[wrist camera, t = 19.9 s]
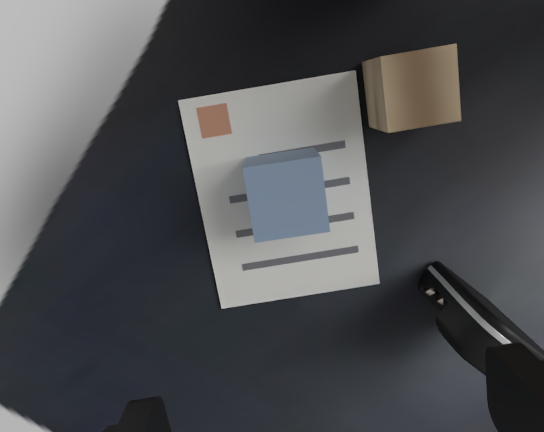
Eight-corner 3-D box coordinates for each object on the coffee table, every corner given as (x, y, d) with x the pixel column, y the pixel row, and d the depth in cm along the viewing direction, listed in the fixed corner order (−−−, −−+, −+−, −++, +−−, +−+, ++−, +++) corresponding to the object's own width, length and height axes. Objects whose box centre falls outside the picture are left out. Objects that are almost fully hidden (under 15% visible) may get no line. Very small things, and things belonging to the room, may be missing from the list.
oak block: (425, 51, 36) (456, 43, 31) (430, 116, 38) (461, 120, 32) (361, 62, 36) (380, 56, 31) (368, 126, 38) (387, 133, 32)
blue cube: (313, 147, 38) (321, 156, 32) (321, 212, 39) (330, 231, 34) (245, 157, 38) (242, 168, 33) (255, 222, 39) (254, 242, 34)
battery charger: (403, 288, 41) (454, 360, 30) (433, 256, 41) (496, 317, 29) (461, 332, 42) (531, 416, 31) (490, 301, 42) (572, 376, 31)
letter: (355, 70, 36) (355, 70, 36) (379, 282, 41) (379, 283, 41) (178, 100, 37) (177, 100, 37) (221, 307, 41) (221, 309, 41)
